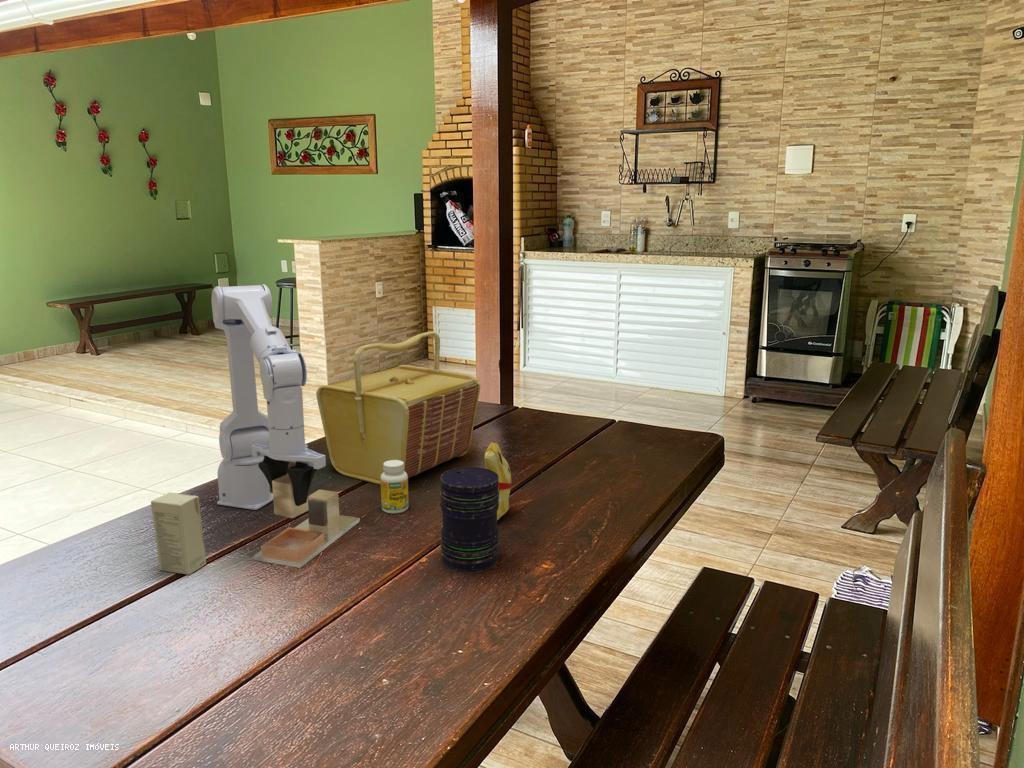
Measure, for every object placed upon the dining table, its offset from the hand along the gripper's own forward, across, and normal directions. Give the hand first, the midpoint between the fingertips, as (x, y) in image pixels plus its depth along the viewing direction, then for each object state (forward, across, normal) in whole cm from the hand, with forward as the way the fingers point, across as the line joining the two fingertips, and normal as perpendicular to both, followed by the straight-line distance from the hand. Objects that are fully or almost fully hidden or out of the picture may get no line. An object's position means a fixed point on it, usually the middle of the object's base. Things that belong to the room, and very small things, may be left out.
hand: (290, 501), depth 129 cm
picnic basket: (+10, +9, -46) cm, 48 cm away
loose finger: (+2, 0, 0) cm, 2 cm away
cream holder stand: (+9, +1, -5) cm, 10 cm away
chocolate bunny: (+10, -23, -30) cm, 39 cm away
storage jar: (+10, -28, -12) cm, 32 cm away
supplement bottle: (+10, -4, -24) cm, 26 cm away
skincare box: (+10, +12, +13) cm, 20 cm away
